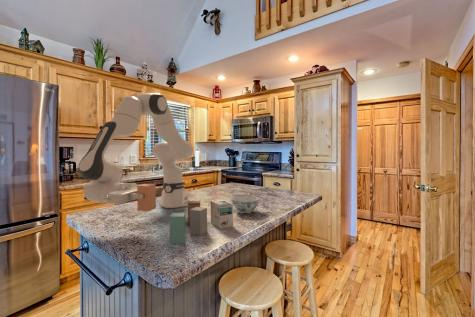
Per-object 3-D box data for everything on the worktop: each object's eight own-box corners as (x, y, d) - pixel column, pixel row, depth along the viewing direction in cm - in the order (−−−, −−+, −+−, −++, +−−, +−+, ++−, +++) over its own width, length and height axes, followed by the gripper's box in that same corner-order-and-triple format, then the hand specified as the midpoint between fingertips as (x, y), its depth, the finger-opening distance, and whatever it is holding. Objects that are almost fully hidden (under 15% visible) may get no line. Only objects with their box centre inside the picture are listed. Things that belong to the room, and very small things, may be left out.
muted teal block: (172, 238, 90) (172, 212, 90) (185, 238, 91) (185, 212, 90) (169, 243, 85) (169, 216, 85) (183, 243, 86) (183, 216, 85)
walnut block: (189, 221, 112) (189, 200, 111) (200, 221, 112) (200, 200, 111) (187, 225, 107) (187, 203, 106) (198, 224, 107) (198, 203, 106)
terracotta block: (145, 207, 99) (145, 183, 98) (155, 208, 97) (155, 184, 97) (137, 210, 94) (137, 185, 93) (148, 211, 92) (148, 186, 92)
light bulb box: (233, 227, 104) (233, 202, 104) (219, 229, 101) (219, 204, 100) (223, 220, 113) (222, 198, 113) (210, 222, 110) (209, 200, 109)
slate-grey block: (197, 229, 100) (196, 206, 100) (207, 231, 98) (206, 207, 98) (190, 233, 95) (189, 209, 95) (200, 235, 93) (200, 210, 93)
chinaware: (244, 217, 118) (244, 202, 117) (226, 211, 129) (226, 197, 129) (265, 212, 127) (265, 198, 127) (246, 207, 139) (246, 194, 138)
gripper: (99, 189, 88) (130, 191, 85) (135, 182, 108) (162, 183, 105) (99, 206, 89) (131, 208, 85) (135, 195, 108) (162, 197, 105)
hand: (148, 194), depth 95 cm, fingers closed on terracotta block, 5 cm apart
